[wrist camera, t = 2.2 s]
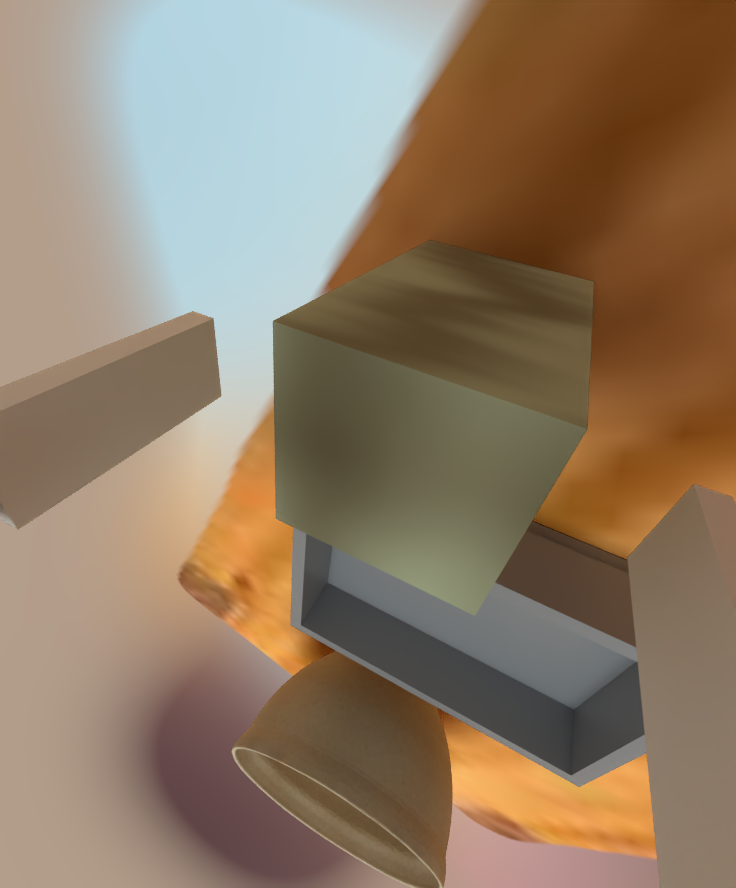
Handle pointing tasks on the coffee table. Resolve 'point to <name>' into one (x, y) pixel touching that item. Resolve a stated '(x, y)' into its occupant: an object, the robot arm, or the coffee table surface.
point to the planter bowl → (357, 767)
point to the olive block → (431, 412)
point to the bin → (497, 646)
